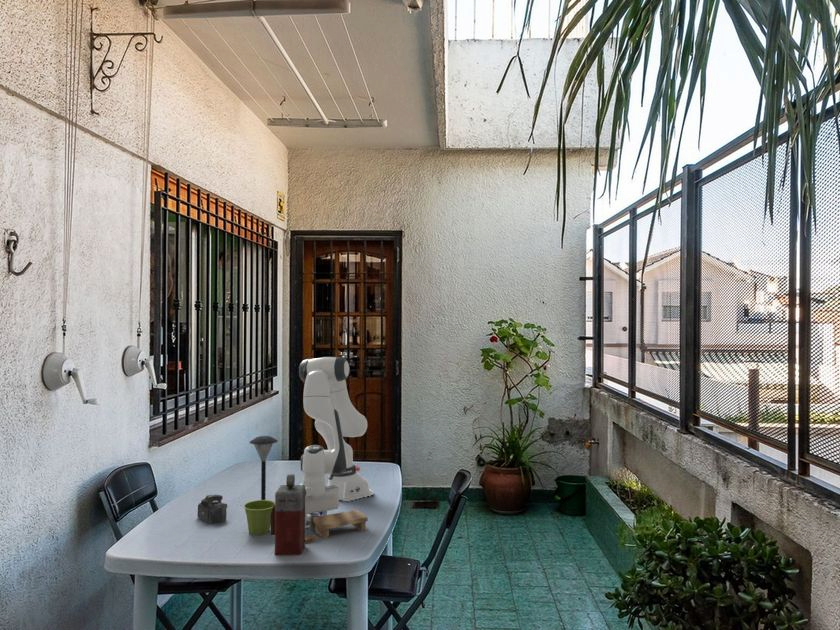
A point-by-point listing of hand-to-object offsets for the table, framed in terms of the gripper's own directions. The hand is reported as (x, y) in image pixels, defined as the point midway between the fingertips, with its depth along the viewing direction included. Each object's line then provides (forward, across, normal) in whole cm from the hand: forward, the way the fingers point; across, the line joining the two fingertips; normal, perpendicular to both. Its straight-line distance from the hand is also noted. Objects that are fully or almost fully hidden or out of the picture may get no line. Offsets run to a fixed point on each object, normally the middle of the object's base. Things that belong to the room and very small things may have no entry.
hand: (313, 523), depth 227 cm
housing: (+2, 0, 0) cm, 2 cm away
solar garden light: (+2, +10, -35) cm, 36 cm away
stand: (+2, -7, +10) cm, 12 cm away
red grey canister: (+2, +17, +20) cm, 27 cm away
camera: (+2, +32, -29) cm, 44 cm away
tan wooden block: (+2, +7, +15) cm, 17 cm away
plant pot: (+2, +20, -4) cm, 20 cm away
